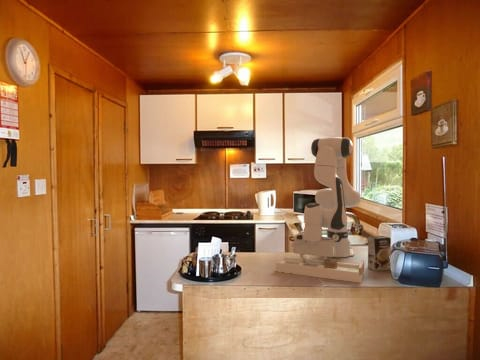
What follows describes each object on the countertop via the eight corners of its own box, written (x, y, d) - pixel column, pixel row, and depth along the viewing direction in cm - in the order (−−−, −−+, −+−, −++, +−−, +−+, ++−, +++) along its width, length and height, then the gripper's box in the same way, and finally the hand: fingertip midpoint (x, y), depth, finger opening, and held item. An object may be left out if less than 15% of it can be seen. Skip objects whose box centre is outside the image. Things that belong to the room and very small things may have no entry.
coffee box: (375, 271, 166) (375, 238, 166) (367, 267, 172) (367, 236, 172) (391, 269, 169) (391, 237, 168) (382, 266, 175) (382, 235, 174)
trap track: (284, 264, 179) (284, 252, 179) (364, 274, 161) (364, 260, 161) (276, 271, 167) (275, 258, 167) (361, 282, 150) (361, 268, 149)
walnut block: (326, 266, 165) (326, 258, 165) (336, 267, 163) (336, 259, 163) (324, 269, 161) (324, 260, 160) (335, 270, 158) (335, 262, 158)
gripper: (335, 236, 163) (336, 264, 164) (295, 233, 172) (295, 260, 173) (333, 239, 158) (333, 268, 158) (291, 235, 167) (291, 263, 167)
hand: (313, 264), depth 165 cm, fingers open, 8 cm apart
